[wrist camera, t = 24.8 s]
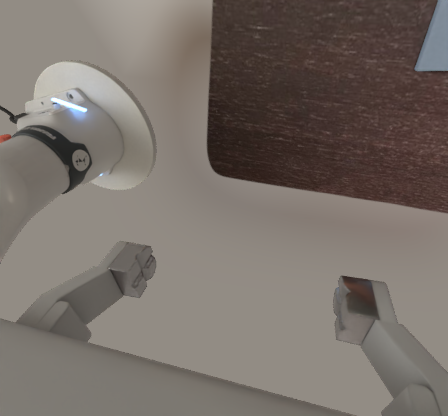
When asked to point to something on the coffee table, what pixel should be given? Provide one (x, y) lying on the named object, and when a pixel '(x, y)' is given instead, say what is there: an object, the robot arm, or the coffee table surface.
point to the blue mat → (435, 42)
